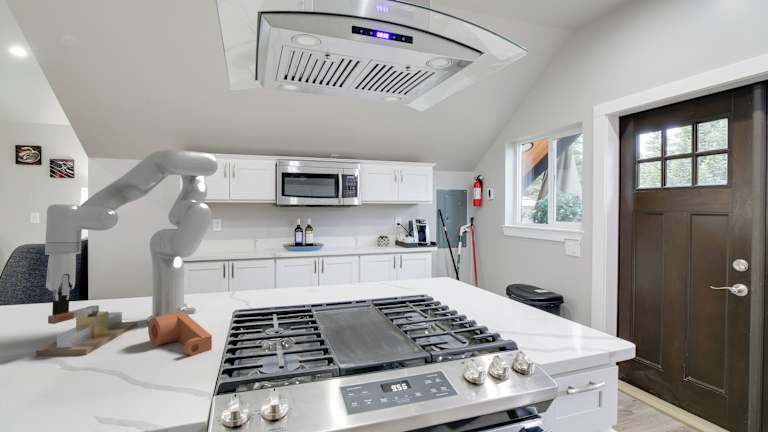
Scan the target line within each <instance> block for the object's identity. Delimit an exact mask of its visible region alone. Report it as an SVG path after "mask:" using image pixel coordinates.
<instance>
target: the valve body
mask: <svg viewBox="0 0 768 432" xmlns="http://www.w3.org/2000/svg"><path fill="white" fill-rule="evenodd" d="M122 322H123V312H122V311H117V312H116V311H113V312H109V310H107V311H99V312H96V313H91V314H87V315H83V316H80V317H76V318H75V325H76V326H75V327H72V328H69V330H66V331H63V332H60V333H59V334H57V335H56V342H57V349H65V348H73V347H75V346H77V345H79V344H81V343H83V342H85V341H87V340H89V339H91V338H96V337H98V336H100V335H102V334H104V333H106V332H108V330H109V329H111V328H113V327H115V326H117V325H119V324H121V323H122Z"/></svg>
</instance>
